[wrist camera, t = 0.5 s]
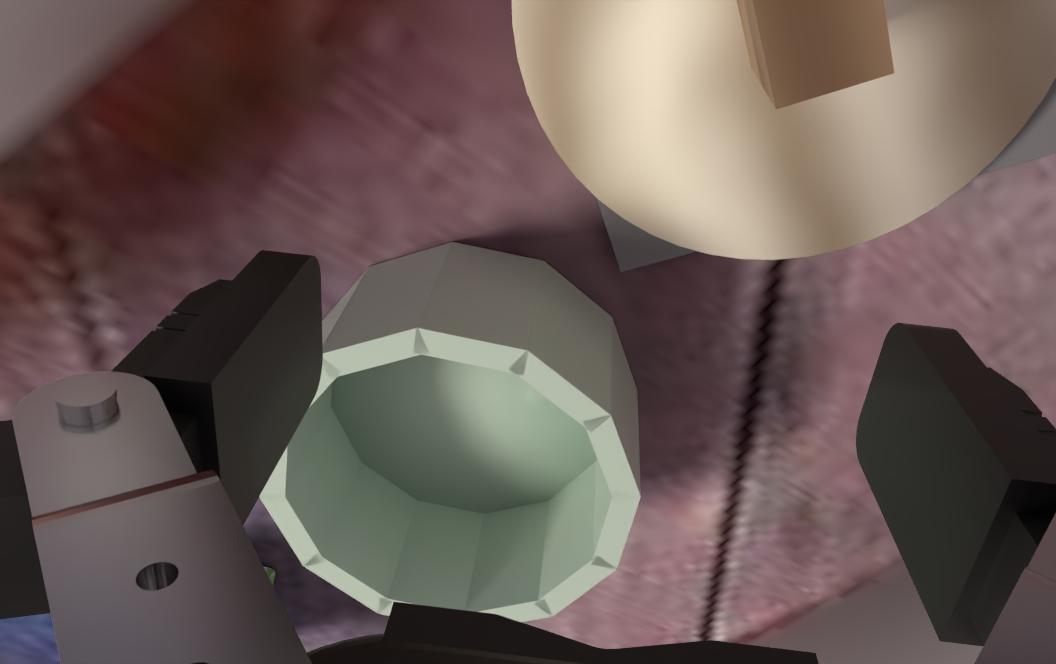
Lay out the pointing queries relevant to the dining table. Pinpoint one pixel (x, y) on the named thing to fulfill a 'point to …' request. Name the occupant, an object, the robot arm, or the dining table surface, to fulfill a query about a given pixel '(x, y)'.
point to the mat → (1041, 136)
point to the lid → (781, 109)
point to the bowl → (464, 439)
